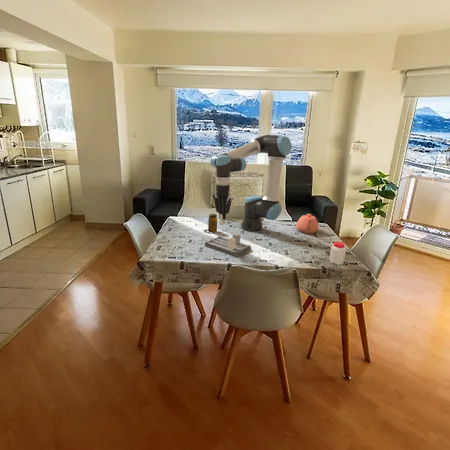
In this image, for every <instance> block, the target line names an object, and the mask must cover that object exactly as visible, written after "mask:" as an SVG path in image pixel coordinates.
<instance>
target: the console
mask: <svg viewBox="0 0 450 450" xmlns="http://www.w3.org/2000/svg"><path fill="white" fill-rule="evenodd" d="M228 238H229V237H225V236H222V235H219V236H217V237H214V238H211V239H208V240H207V241H205V242H204V246H205V247H207V248H210V249H212V250H216V251H218V252H221V253H225V254H227V255H230V256H232V257H233V256H234V257H236V258H238V257H241V256H242V255H244V254H246V253H247V252H250V251H252V246H251V245H250V244H246V243H243V242H241V234H240V233H238V232H235V233H232V237H231V238H234V239H236V242H235V249H234V250H230V249H227V242H228Z"/></svg>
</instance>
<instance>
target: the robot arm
mask: <svg viewBox="0 0 450 450" xmlns="http://www.w3.org/2000/svg"><path fill="white" fill-rule="evenodd" d="M291 150H292V142H291V140H290V138H289V137H288V136H286V135H282V134H281V135H279V134H278V135H277V134H276V135H275V134H265V135H261V136H258V137H256V138H253V139H251V140H250V141H249V142H248V143H246V144H243V145H242V146H239V147H236V148H235V149H233V150H230V151H227V152H225V153H223V154H220V155H219V154H214V155H212V156H211V158H210V165H211V167H212V168H214V169H215V173H216V178H215V179H216V180H215V181H216V182H215V184H216V185H215V191H216V193H215V194H213V195H212V198H213V201H214V206H215V212H216V213H218V219H219V226H224V225H225V223H226V220H227V219H226V218H227V214H229V213H230V210H231V206H232V202H233V200H234V197H231V196H230V195H231V194H230V188H231V187H230V186H231V185H230V184H231V173H238V172H242V171H245V170H246V167H247V161H246V158H248V157H250V156H253V155H258V154H267V158H268V160H269V162H268V166H267V175H266V181H265V190H264V196H260V195H253V196H252V195H251V196H247V197H246V198H245V200H244V212H243V213H244V214H243V219H242V221H241V224H240V225H241V226H240V228H241V230H243V231H245V232H246V231H248V232H260V231H262V230H263V223H262V219H261V218H264V219H265V220H270V221H274V220H276V219H278V218H279V216H281V212H282V208H283V207H282V204H280V199H279V198H278V194H279V188H280V181H281V175H282V169H283V161H284V160H285V159H287V156H288V155H290V153H291Z"/></svg>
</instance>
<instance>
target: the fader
mask: <svg viewBox="0 0 450 450" xmlns="http://www.w3.org/2000/svg"><path fill="white" fill-rule="evenodd" d="M227 238H228V242H227V249H230V250H234V249H235V242H236V239H234V238H232V237H227Z"/></svg>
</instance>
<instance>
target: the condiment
mask: <svg viewBox="0 0 450 450" xmlns="http://www.w3.org/2000/svg"><path fill="white" fill-rule="evenodd" d="M217 216H218V215H217V214H216V213H210V214H209V215H208V220H207V223H208V224H207V225H208V227H207V229H204V230H203V232H205V231H207V230H208V231H209V232H213V233H212V234H215V233H214V232H217V231H218V217H217ZM217 233H220V231H218V232H217Z"/></svg>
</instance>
